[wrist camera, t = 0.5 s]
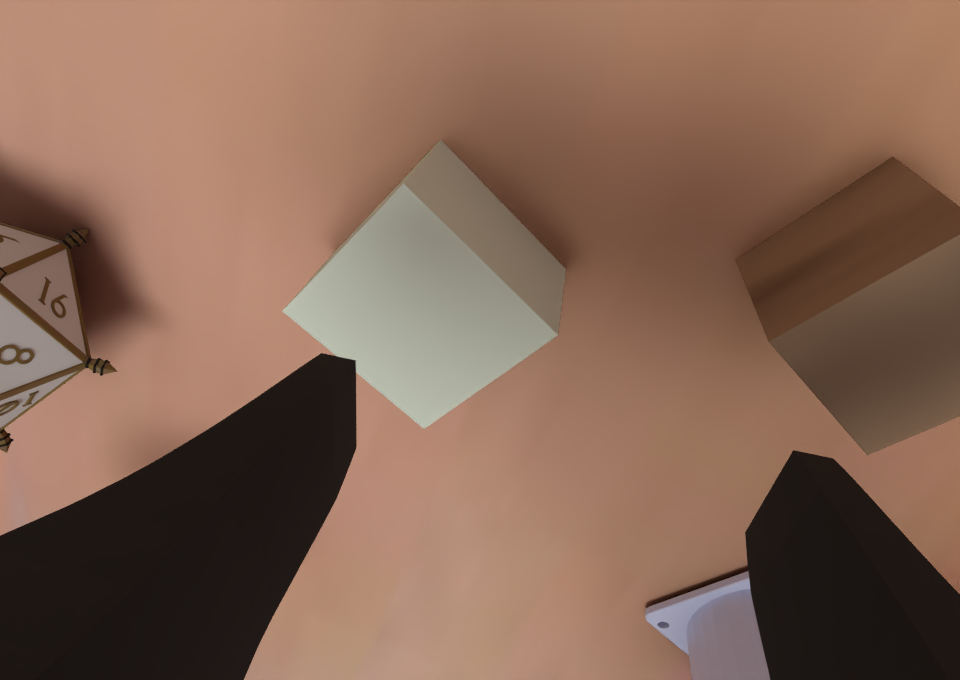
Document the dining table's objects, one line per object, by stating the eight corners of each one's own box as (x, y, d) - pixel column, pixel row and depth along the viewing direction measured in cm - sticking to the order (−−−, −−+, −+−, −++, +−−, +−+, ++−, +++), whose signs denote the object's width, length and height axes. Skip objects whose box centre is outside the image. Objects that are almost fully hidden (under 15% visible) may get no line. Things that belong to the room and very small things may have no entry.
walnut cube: (972, 274, 17) (1075, 367, 13) (816, 355, 19) (867, 455, 15) (891, 155, 15) (980, 222, 12) (734, 258, 18) (768, 341, 14)
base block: (566, 266, 19) (558, 335, 16) (451, 355, 22) (424, 429, 18) (441, 137, 17) (403, 183, 14) (335, 250, 20) (282, 311, 17)
